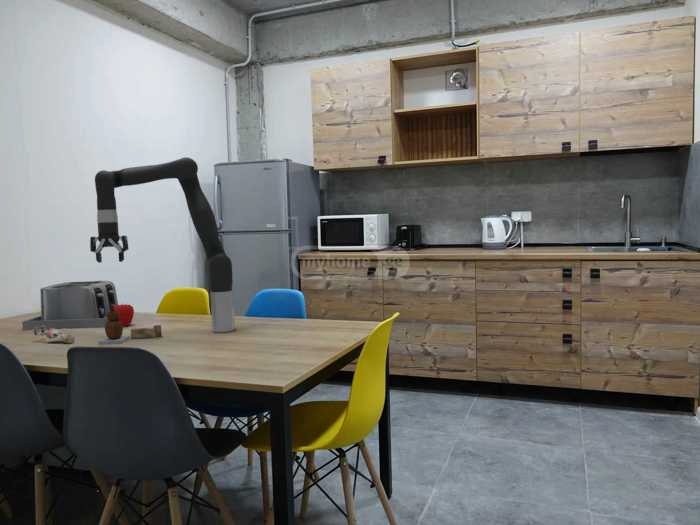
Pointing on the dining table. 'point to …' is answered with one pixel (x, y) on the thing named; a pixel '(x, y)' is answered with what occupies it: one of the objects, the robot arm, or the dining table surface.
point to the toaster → (77, 300)
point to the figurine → (53, 335)
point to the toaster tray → (64, 323)
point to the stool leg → (146, 332)
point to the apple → (125, 313)
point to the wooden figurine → (113, 324)
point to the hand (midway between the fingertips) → (110, 262)
